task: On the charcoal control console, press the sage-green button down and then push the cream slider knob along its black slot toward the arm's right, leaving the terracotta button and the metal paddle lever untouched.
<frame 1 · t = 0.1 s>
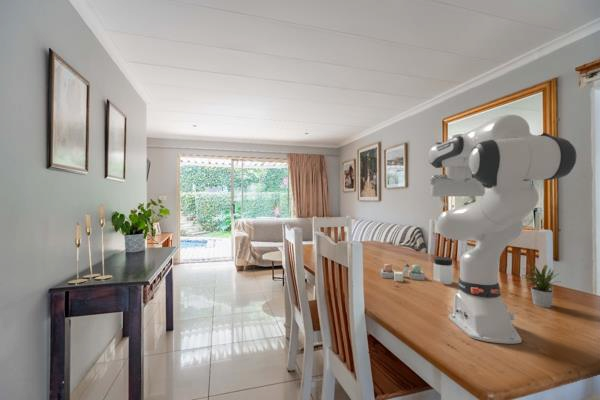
hand: (456, 206, 120), 39 cm above the table, tool pointing down, fingers open, 8 cm apart
terracotta button: (388, 268, 149), point 5 cm above the table, slide at 0.0 cm
green button: (416, 269, 146), point 5 cm above the table, slide at 0.0 cm
slider knob: (398, 276, 142), point 3 cm above the table, slide at 0.0 cm
panel: (403, 281, 145), on the table
paddle lever: (405, 270, 147), point 5 cm above the table, hinge at 25.0°
jar: (443, 282, 142), on the table
house plant: (540, 304, 113), on the table
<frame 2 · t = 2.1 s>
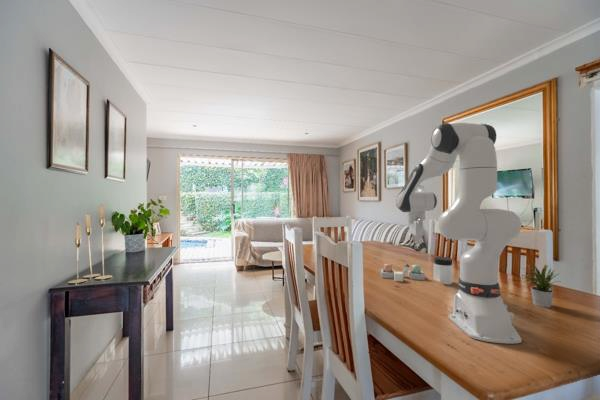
hand: (416, 243, 146), 19 cm above the table, tool pointing down, fingers open, 3 cm apart
nothing on the table moved.
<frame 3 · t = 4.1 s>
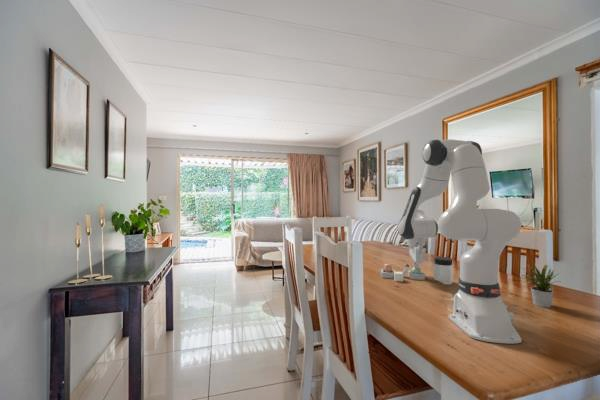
hand: (416, 268, 146), 6 cm above the table, tool pointing down, fingers closed, pressing on green button
green button: (416, 272, 146), point 4 cm above the table, slide at 1.4 cm, touching gripper
everything else where it was.
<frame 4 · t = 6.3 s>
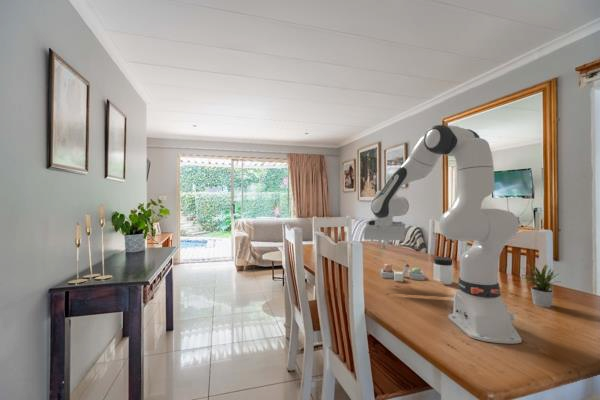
hand: (383, 248, 143), 17 cm above the table, tool pointing down, fingers closed
green button: (416, 272, 146), point 4 cm above the table, slide at 1.6 cm
everything else where it was.
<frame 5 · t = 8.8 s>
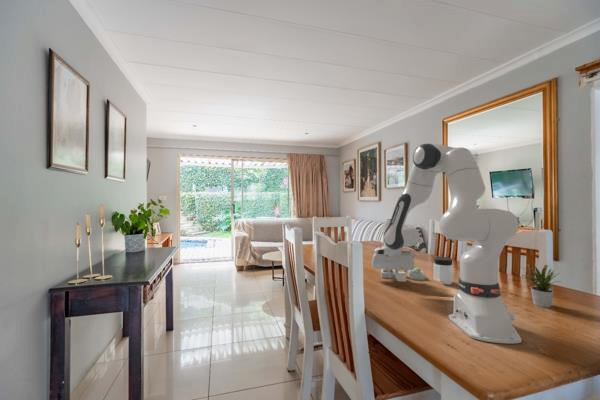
hand: (392, 277, 142), 2 cm above the table, tool pointing down, fingers closed
slider knob: (401, 276, 142), point 3 cm above the table, slide at 1.2 cm, touching gripper
everything else where it was.
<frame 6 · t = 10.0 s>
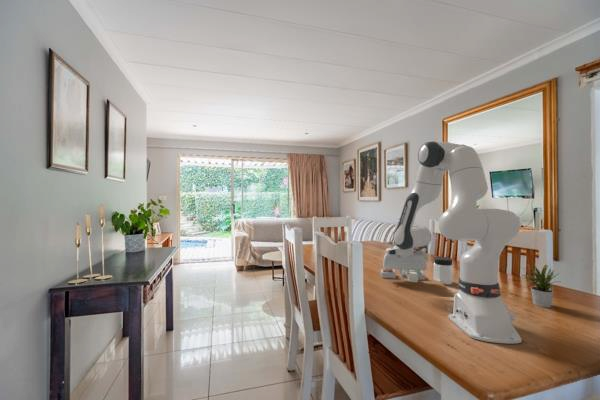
hand: (404, 278, 141), 3 cm above the table, tool pointing down, fingers closed
slider knob: (412, 277, 140), point 3 cm above the table, slide at 6.8 cm, touching gripper
everything else where it was.
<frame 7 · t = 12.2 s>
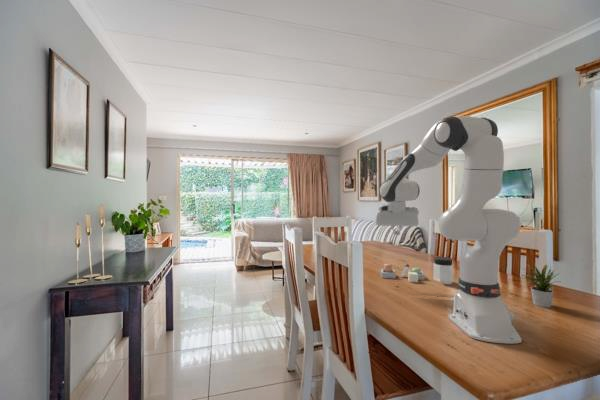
hand: (396, 234, 142), 24 cm above the table, tool pointing down, fingers closed
slider knob: (413, 277, 140), point 3 cm above the table, slide at 6.9 cm
everything else where it was.
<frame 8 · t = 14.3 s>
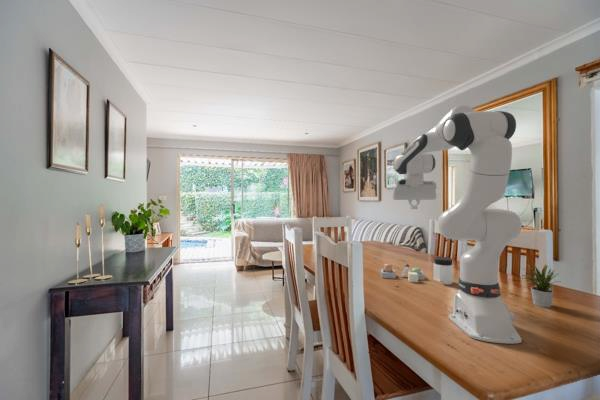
hand: (414, 209, 142), 37 cm above the table, tool pointing down, fingers closed
nothing on the table moved.
at the end: green button slide at 1.6 cm; slider knob slide at 6.9 cm; terracotta button slide at 0.0 cm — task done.
